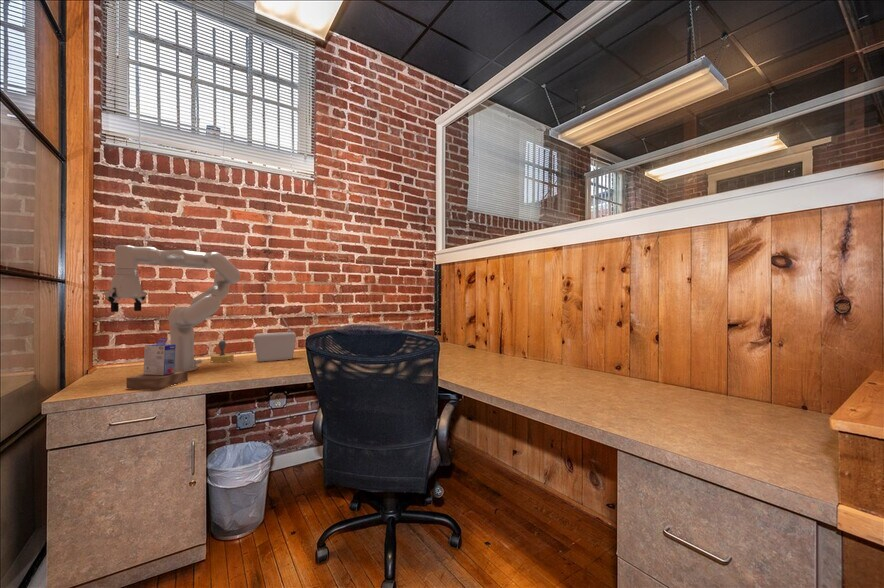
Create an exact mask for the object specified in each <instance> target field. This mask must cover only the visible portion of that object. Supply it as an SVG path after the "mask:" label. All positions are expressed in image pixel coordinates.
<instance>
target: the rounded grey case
mask: <svg viewBox="0 0 884 588" xmlns="http://www.w3.org/2000/svg"><path fill="white" fill-rule="evenodd" d="M281 319H282V321H283V322H284V324H285V325H284V324H282V323H280V325H281V326H285V327H286V328H288V329H287V330H286V331H285V332H283V331H282V332H269V333H268V332H264V333H262V332H261V333H260V331H261V330H263V329H264V328H267V327H269V326H272V325H274V323H271V324H268V325H267V326H264V327H262V328H261V329H260V330H259V331H258V332H257V333H255V334H254V335H253V341H254V347H255V353H256V359H257V362H259V363H263V362H264V361H266V362H277V360H279V361H288V359H290V360H293V358H294V353H295V347H296V341H297V334H296V333H295V332H294V331H293V330H292V329H290V326H288V323H287V322H286V320H285V318H284V317H283V316H281Z"/></svg>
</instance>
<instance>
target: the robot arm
mask: <svg viewBox="0 0 884 588" xmlns="http://www.w3.org/2000/svg"><path fill="white" fill-rule="evenodd" d="M114 249H115V250H114V275H113V276H112V278H111V282H110V288H109V290H107V291H105V292H103V295H104V297H105V299H106V300H107V301H108V303H110V311H111V313H118V312H119V311H120V310H119V304H120V303H119V300H120V299H133V300H134V302H133V311H134V312H141V311H142V303H143V302H144V300H145V299H146V296H147V295H148V293H147V291H144V290H142V287H141V285H142V284H141V281H140V280H141V279H140V277H139V276H138V275H140V271H138V264H141V265H150V266H151V265H152V266H167V267H169V266H170V267H177V268H178V267H180V268H194V269H206V270H207V269H211V270H212V269H214V270H215V273H214V276H213V284H212V285H211V287H209V288H207V289H206V290H205V291H203V292H201V293H200V294H198V295H196V296H195V297H194V298H192V299H191V302H190V305H188V306H177V307H175V308H173V309H172V310H171V311H170V312H169V313H168V325H169V331H170V332H169V333H170V336H169V337H170V340H169V344H175V345H176V346H175V371H188V372H193V371H195V370H197V369H199V366H198V364H202V362H203V360H202V359H201V358H200V359H195V332H194V331H195V330H194V327H195V326H197V325H199V324H201V323H202V322H203V321H205V320H206V319H208V318H210V317H211V316H212V315H214V314H215V313H216V312H217V311H219V309H220V308H221V304H222V303H221V301H222V300H224V299H225V298H226V297H227V296H228V294H229V292H230V287H231V286H230V285H232V284H233V285H234V284H236V283H239V282H240V280H241V277H242V275H241V272H240V270H239V269H238V267H236V266H235V264H233V263H232V262H231V261H230V260H228V259H227V257H225V256H224V255H223V254H222V253H220V252H218V251H210V252H209V251H208V252H204V251H196V250H186V249H173V250H169V249H168V250H165V249H164V250H162V249H161V250H160V249H158V248H157V247H154V246H134V245H130V244H128V245H127V244H118V245H116V246H115V248H114Z"/></svg>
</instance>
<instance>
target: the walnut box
mask: <svg viewBox="0 0 884 588" xmlns="http://www.w3.org/2000/svg"><path fill="white" fill-rule="evenodd" d="M188 372H189V371H175V373H172V374H167V375H146V374H143V373H141V374H137V375H134V376H130V377H126V385H125V387H126V388H131V389H130V390H137V389H151V390H150V391H161V390H163V388H164V389H166V388H165V387H167V388H169V387H168V386H170V387H172V386H171V385H174V384H177V385H179V384H178V383H180V384H182V383H181V382H184V383H186V382H185V381H187V382H188V381H189V380H188V379H189V375H188V374H189V373H188ZM174 386H175V385H174Z"/></svg>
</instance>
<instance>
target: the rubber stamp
mask: <svg viewBox="0 0 884 588" xmlns="http://www.w3.org/2000/svg"><path fill="white" fill-rule="evenodd" d="M226 346H227V342H226V341H225V340H223V339H222V340H220V341H219V342H218V347H219V350H220V354H219V353H218V354H214V355H211V356H210V362H211V361H213V362H212V363H225V362H227V363H229V362H228V361H231V362H233V361H232V360H234V358H235V357H234V354H231V353H230V354H229V353H227V354H226V353H225V348H226ZM234 361H235V360H234Z"/></svg>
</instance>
